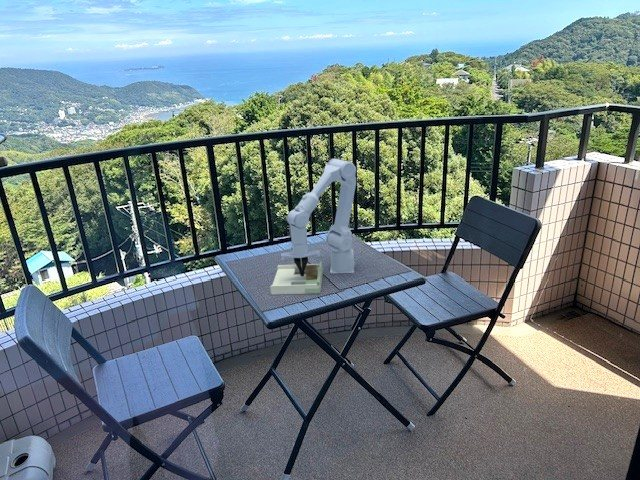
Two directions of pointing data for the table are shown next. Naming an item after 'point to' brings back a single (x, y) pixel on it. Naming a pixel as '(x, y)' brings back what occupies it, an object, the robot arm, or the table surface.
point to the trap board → (295, 281)
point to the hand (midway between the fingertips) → (302, 274)
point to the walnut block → (311, 272)
